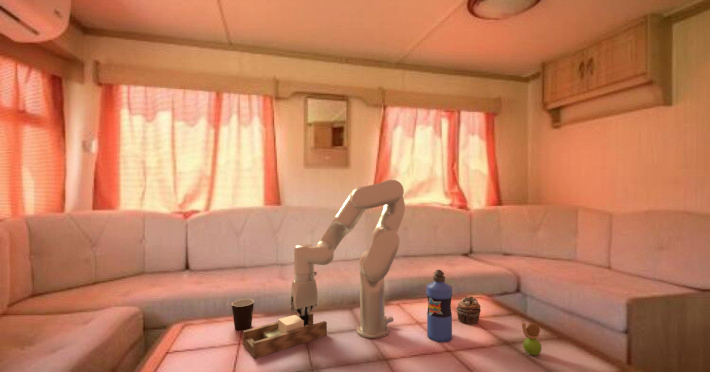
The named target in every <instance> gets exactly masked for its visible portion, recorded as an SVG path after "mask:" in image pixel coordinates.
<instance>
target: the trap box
mask: <svg viewBox="0 0 710 372" xmlns="http://www.w3.org/2000/svg"><path fill="white" fill-rule="evenodd" d="M297 316H298V317H299V318H300V315H297ZM327 328H328V323H327V321H325V320H324V321H320V322H316V323H314V313H313V312H310V314H309V321H308V325H306V326H304V327H302V328H299V329H296V330H292V331H289V332H285V333H282V332H280V331H279V330H278V321H276V322H272V323H267V324H264V325H261V326H258V327H251V328H249V329H247V330H243V331H242V345H243V346H244V348H245V349H246V350H247V352H248V353H249V354H250V355H251V356H252V357H253V358H254V359H258V358H261V357H265V356H267V355H270V354H273V353H277V352H280V351H283V350H286V349H289V348H292V347H296V346H298V345H301V344H304V343H308V342H311V341H313V340H317V339H320V338H323V337H326V336H328V329H327Z"/></svg>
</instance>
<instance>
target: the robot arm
mask: <svg viewBox="0 0 710 372" xmlns="http://www.w3.org/2000/svg"><path fill="white" fill-rule="evenodd" d="M404 190H405V189H404V186H403V184H402V183H401V182H400V181H398V180H396V179H385V180H383V181H381V182H378V183H377V182H376V183H374V184H370V185H365V186H364V185H363V186H357V187H354V189H352V191H351V192H350V194H349V195H348V196H347V198H346V199H345V201H344V202H343V204H342V205H341V207H340V208H339V210H338V212H337V213H336V214H335V216H334V217H333V219H332V220H331V222H330V225H329V226H328V227H327V228H326V230H325V232H323V235H322V237H321V238H320V239H319V241H318V243H317V244H316V246H313V245H312V244H309V243H300V244H297V245H295V246H294V250H293V253H294V254H293V255H294V256H293V257H294V259H293V263H294V265H293V266H294V269H293V271H294V272H293V273H294V274H293V276H294V280H292V281H291V285H290V293H289V294H290V295H289V306H291V307H290V311H291V312H293V313H298V314H299V316H300V318H301V319H302V320H304V326H306V325H308V321H309V314H310V313H311V312H312V309H314V308H316V307H317V306H318V298H319V296H318V293H319V292H318V286H317V281H316V278H315V276H317V275H318V273H317V271H315V265H319V266H327V265H329V264H331V263H332V262H333V260H334V257H335V254H334V253H335V251H336V249H337V248H338V246H339V245H340V244H341V242H342V241H343V239H344V238H345V237H346V236H347V235H348V234H349V233H351V232H352V231H353V230H354V229H355V227H356V226H357V224H358V222H359V220H360V219H361V217H362V216H363V215H364V213H365V212H366V211H367V210H369V209H374V208H375V209H376V208H379V207H383V208H382V211H381V213H380V217H379V219H378V221H377V223H376V226H375V227H374V230H373V231H372V233H371V242H372V244H371V245H370V248H369V249H367V250H365V251H364V252H363V253H362V254H360V258H359V263H358V264H359V265H358V267H359V304H360V305H359V306H360V307H359V308H360V309H359V312H360V314H359V321H360V322H359V324H358V325H357V326H356V328H355V329H356V333H357V335H359V336H361V337H363V338H367V339H378V338H382V337H385V336H387V335H388V334H389V332H390V331H389V326H388V324H389V323H393V322H394V317H393V316H388V317H387V316H386V315H385V277H386V276H387V275H388V273H389V271H390V269H391V267H392V264H393V262H394V260H395V257H396V255H397V252H398V250H399V247H400V237H399V234H398V232H399V229H400V227H401V224H402V222H403V219H404V215H405V211H406V205H405V204H406V203H405V198H404V193H405V191H404Z"/></svg>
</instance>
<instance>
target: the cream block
mask: <svg viewBox="0 0 710 372" xmlns="http://www.w3.org/2000/svg"><path fill="white" fill-rule="evenodd" d="M298 316H299V315H296V314H293V315H289V316H287V317H286V316H285V317H282V318H278V321H277V322H278V330H279V331H280V332H282V333H285V332H289V331H292V330H296V329H299V328H302V327H304V320H302V319H301V318H299V317H298Z"/></svg>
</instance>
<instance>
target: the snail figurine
mask: <svg viewBox="0 0 710 372" xmlns="http://www.w3.org/2000/svg"><path fill="white" fill-rule="evenodd" d="M520 320H521V323H520V324H521V328H522V332H523V334H524V337H526V338H525V339H524V341H523V343H522V345H523V346H522V347H523V349H524V351H525V352H526V353H528V354H529V355H531V356H537V355H539V354H540V353H541V352H542V348H543V347H542V344H541V342H540V341H539V340H538V339H537V338H539V337H540V332H541V329H540V326H539V325H538V324H536V323H533V322H531V323H529V324H527V323H526V322H524V321H525V320H524V318H521V319H520Z"/></svg>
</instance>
